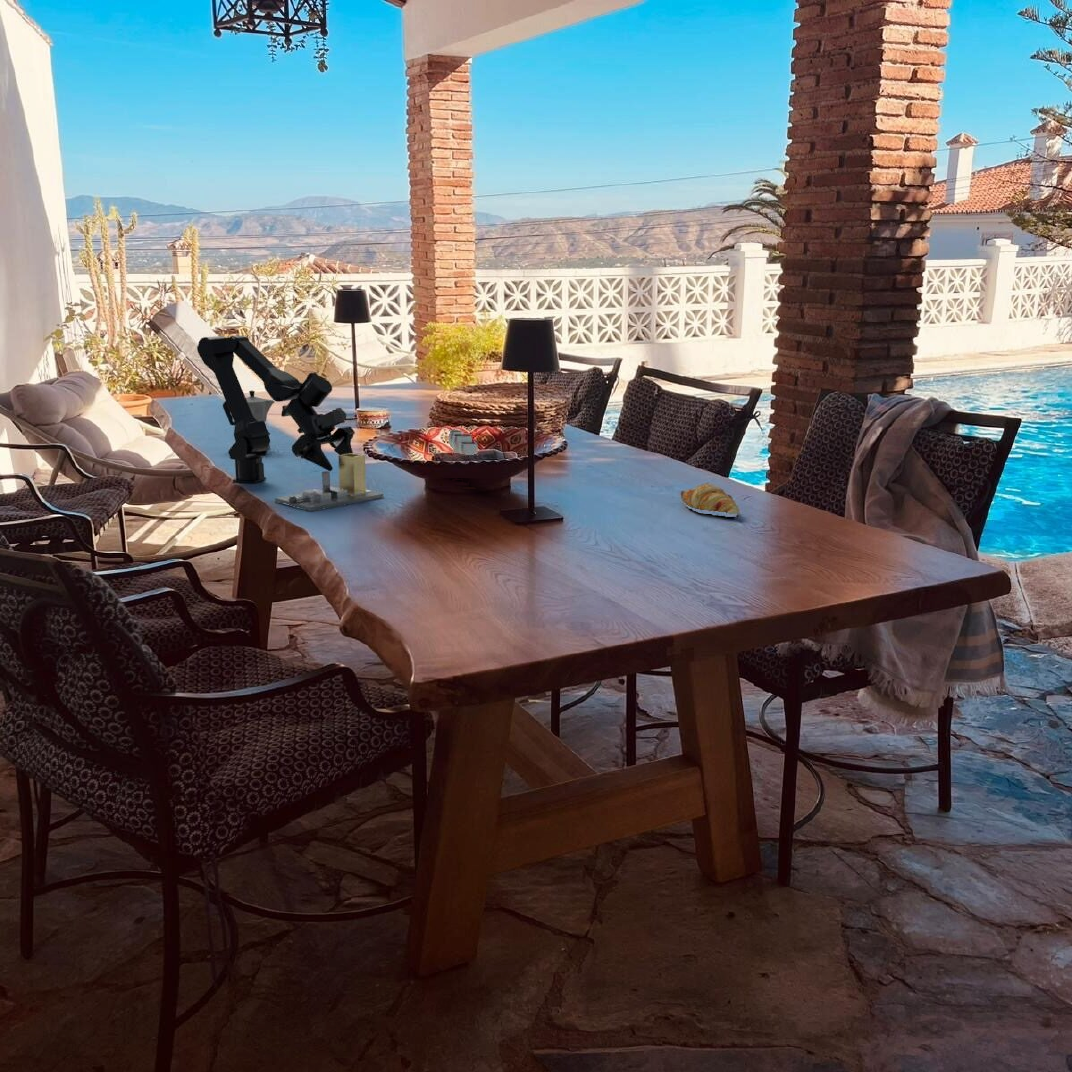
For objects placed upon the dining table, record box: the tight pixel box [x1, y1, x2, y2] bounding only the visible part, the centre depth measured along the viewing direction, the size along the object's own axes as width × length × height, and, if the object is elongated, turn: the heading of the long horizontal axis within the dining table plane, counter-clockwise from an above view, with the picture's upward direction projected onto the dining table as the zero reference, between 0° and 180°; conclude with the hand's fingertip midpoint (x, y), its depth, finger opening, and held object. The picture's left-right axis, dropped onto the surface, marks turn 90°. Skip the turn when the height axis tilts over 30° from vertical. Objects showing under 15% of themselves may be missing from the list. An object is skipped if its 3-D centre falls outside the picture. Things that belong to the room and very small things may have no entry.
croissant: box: [680, 482, 740, 515], centre depth 248 cm, size 21×10×8 cm, turn 30°
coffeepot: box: [222, 390, 276, 450], centre depth 319 cm, size 15×9×18 cm, turn 103°
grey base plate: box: [274, 470, 384, 512], centre depth 253 cm, size 14×23×7 cm, turn 138°
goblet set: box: [445, 428, 479, 455], centre depth 279 cm, size 28×6×13 cm, turn 21°
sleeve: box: [338, 452, 367, 494], centre depth 257 cm, size 5×5×9 cm
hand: (343, 467), depth 258 cm, fingers open, 9 cm apart
